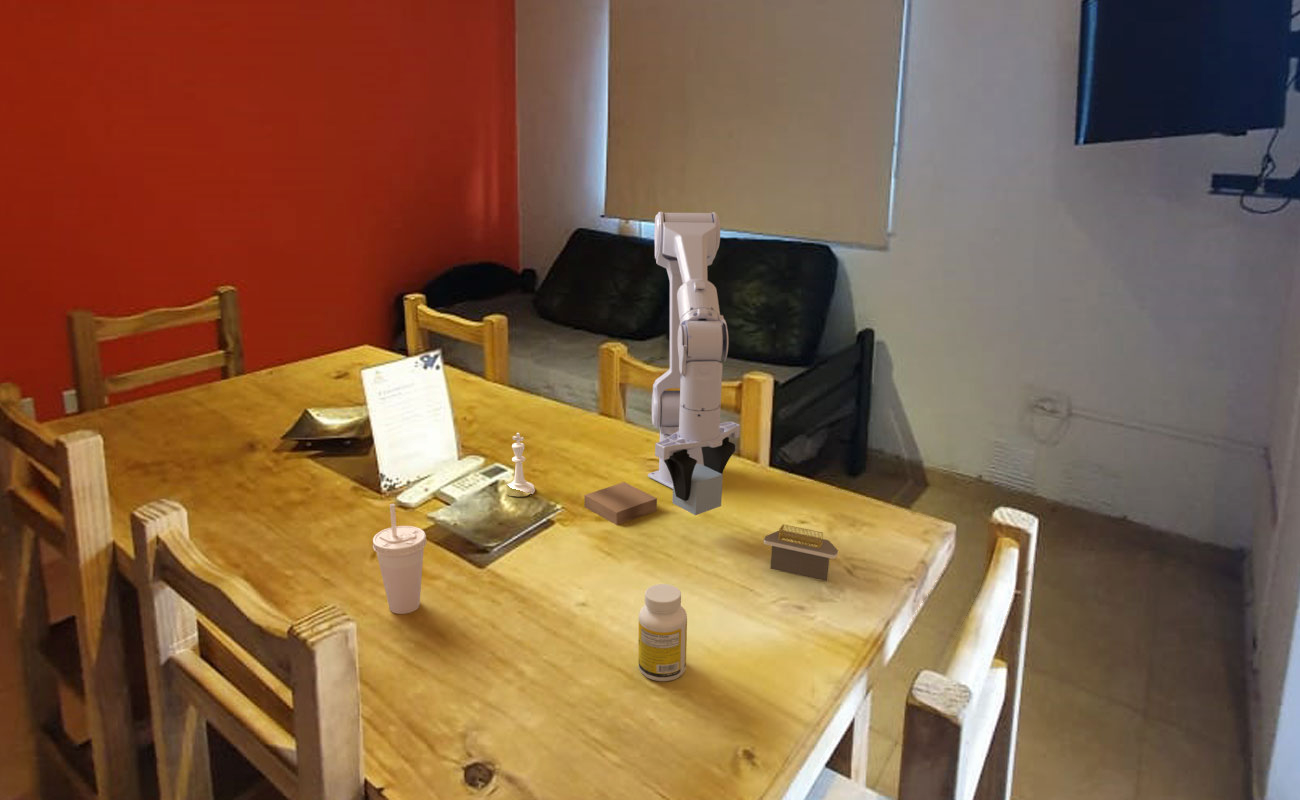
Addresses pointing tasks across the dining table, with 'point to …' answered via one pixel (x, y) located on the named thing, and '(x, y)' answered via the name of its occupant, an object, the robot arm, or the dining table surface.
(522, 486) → the chess piece
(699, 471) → the slate cube
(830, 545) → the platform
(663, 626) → the supplement bottle
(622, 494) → the walnut block
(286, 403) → the dining table surface
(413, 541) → the smoothie
